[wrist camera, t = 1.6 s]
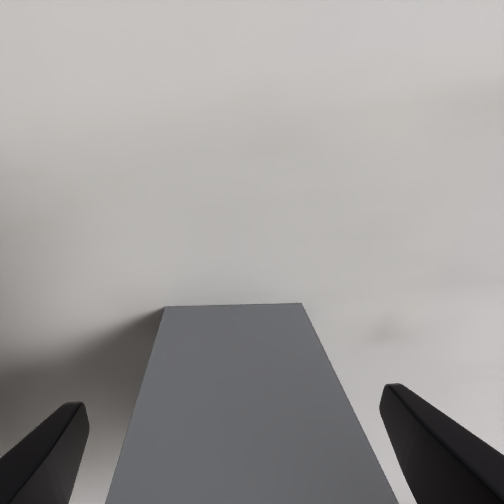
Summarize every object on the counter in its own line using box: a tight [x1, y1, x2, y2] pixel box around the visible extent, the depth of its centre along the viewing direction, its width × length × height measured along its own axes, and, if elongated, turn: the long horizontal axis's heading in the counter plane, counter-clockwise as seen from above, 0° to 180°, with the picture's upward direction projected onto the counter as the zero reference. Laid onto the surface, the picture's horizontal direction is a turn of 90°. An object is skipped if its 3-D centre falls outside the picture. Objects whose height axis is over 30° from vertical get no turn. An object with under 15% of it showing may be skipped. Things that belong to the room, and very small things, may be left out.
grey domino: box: [105, 303, 399, 504], centre depth 7 cm, size 2×5×9 cm, turn 88°
